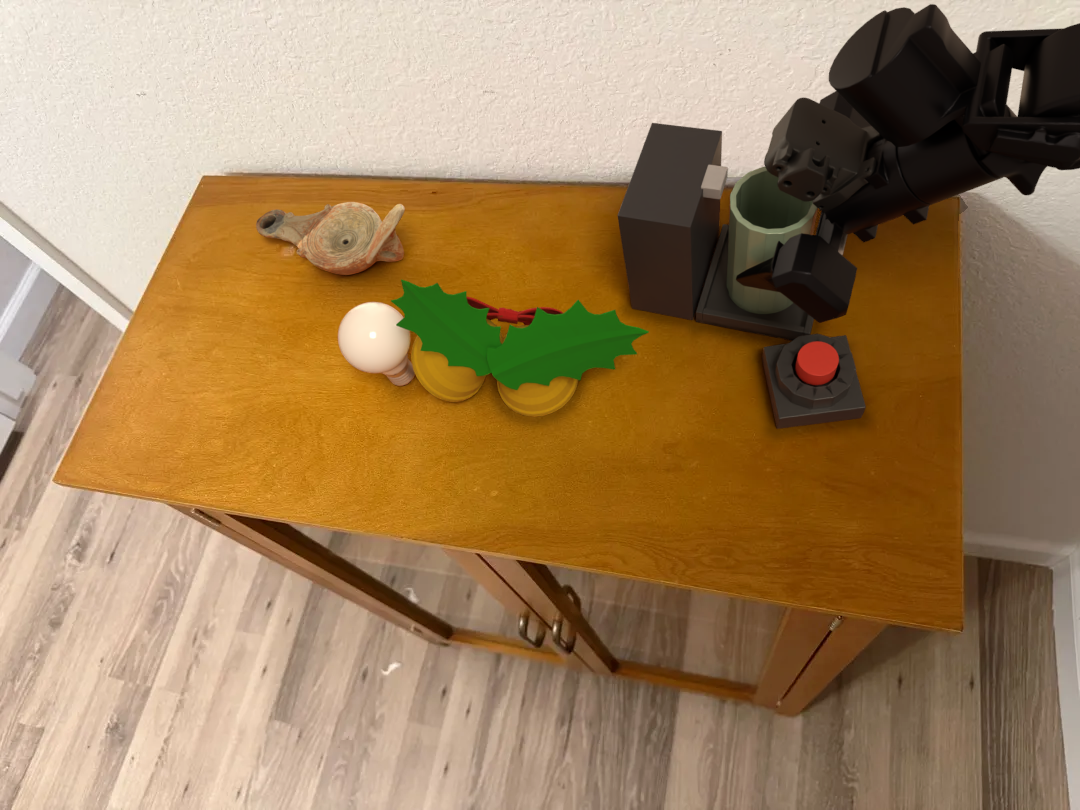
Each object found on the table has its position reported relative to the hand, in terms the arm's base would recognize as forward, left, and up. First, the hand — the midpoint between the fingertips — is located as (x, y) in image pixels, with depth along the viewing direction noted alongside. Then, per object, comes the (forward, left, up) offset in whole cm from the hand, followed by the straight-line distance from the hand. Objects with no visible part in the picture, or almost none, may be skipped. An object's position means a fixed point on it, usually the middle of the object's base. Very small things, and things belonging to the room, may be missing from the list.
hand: (752, 237), depth 67 cm
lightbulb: (+34, +4, -7) cm, 35 cm away
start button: (-3, +12, -4) cm, 13 cm away
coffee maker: (+2, -1, -7) cm, 7 cm away
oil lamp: (+41, -12, -7) cm, 43 cm away
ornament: (+20, +7, -7) cm, 23 cm away
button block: (-3, +12, -7) cm, 14 cm away
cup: (-1, +1, -7) cm, 7 cm away
